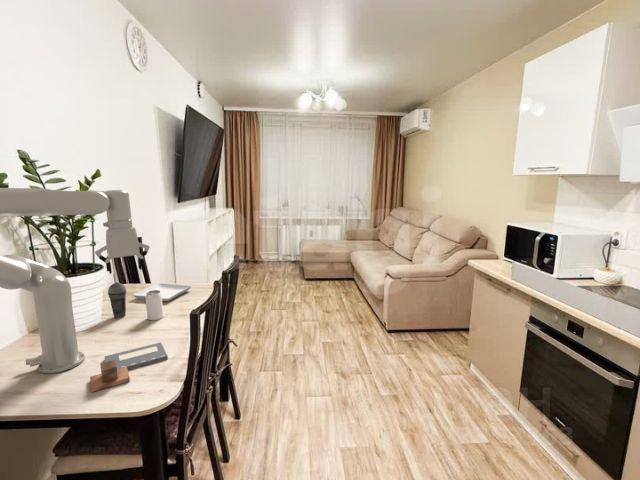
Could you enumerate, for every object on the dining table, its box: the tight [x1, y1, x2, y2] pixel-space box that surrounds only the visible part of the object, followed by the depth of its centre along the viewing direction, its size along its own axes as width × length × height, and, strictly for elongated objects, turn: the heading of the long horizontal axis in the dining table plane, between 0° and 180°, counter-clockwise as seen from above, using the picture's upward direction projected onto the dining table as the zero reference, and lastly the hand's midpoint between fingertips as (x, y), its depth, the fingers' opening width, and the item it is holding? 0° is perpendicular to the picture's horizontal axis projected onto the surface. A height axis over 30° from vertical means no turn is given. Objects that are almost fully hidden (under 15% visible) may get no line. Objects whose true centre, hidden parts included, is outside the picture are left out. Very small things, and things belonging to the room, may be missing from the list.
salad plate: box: [132, 282, 192, 302], centre depth 184 cm, size 21×21×3 cm
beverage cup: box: [107, 272, 127, 319], centre depth 155 cm, size 7×7×20 cm
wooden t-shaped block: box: [89, 360, 131, 393], centre depth 106 cm, size 10×7×5 cm
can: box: [145, 290, 164, 321], centre depth 154 cm, size 6×6×12 cm
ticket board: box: [104, 342, 169, 371], centre depth 120 cm, size 18×12×1 cm, turn 125°
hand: (125, 270), depth 127 cm, fingers open, 9 cm apart
